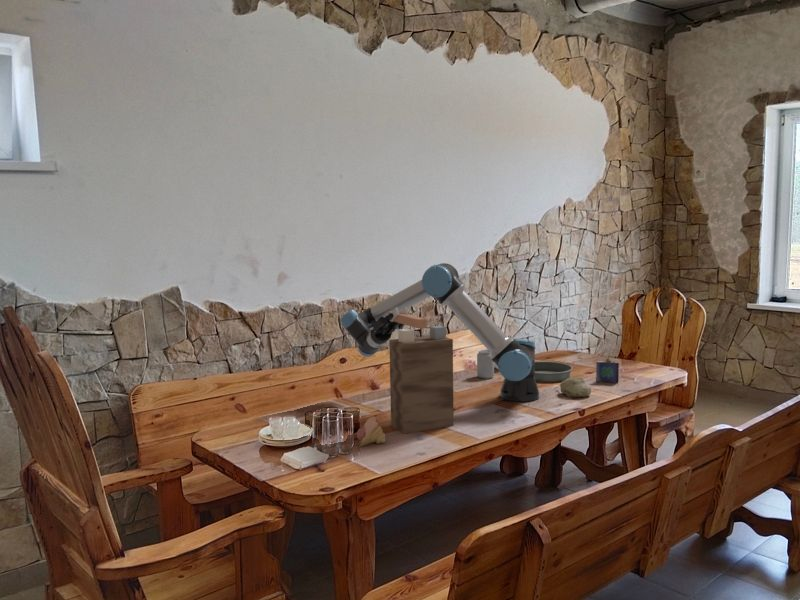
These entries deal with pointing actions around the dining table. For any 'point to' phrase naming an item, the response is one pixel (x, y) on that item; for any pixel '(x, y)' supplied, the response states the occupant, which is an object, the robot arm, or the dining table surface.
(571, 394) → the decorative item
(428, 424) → the walnut stand
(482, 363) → the can
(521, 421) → the dining table surface
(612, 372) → the dark small block
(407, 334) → the cream cube
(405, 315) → the terracotta stick
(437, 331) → the slate cube
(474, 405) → the dining table surface
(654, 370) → the dining table surface
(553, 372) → the cake pan
